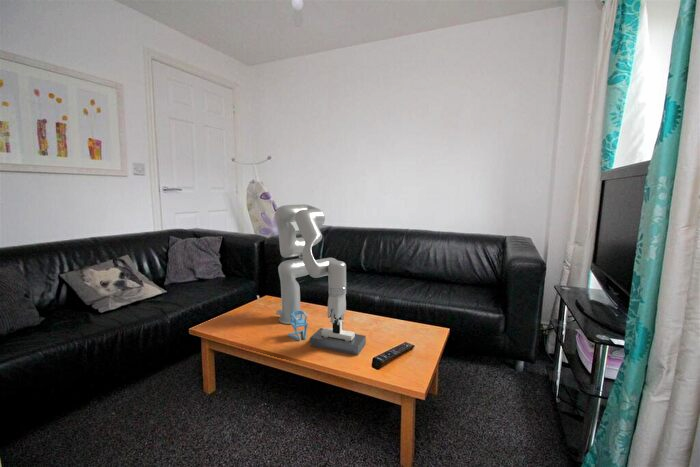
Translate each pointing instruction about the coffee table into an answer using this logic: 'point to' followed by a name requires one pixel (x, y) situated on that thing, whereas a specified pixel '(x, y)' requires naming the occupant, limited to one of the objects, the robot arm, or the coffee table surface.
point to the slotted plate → (338, 343)
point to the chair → (298, 325)
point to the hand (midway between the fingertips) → (337, 330)
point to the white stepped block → (342, 335)
